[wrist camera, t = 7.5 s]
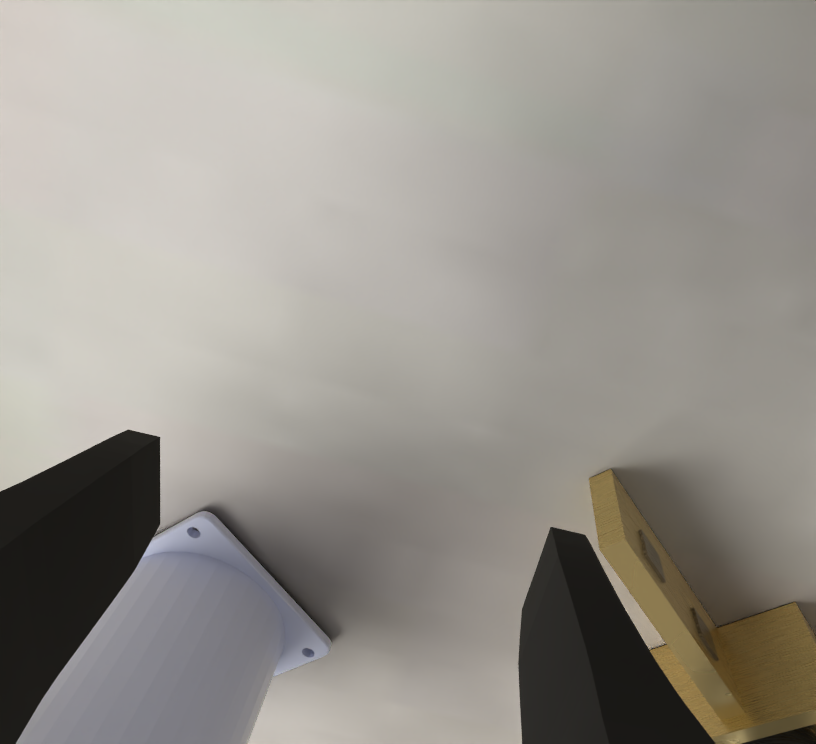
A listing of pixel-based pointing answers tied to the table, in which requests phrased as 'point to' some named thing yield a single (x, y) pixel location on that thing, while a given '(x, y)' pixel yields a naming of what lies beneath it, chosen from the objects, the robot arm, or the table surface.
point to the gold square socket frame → (710, 635)
